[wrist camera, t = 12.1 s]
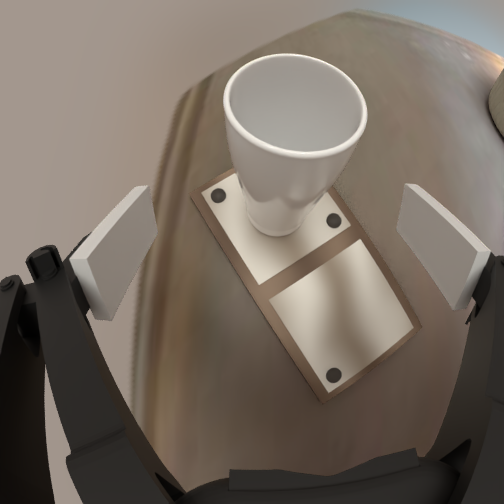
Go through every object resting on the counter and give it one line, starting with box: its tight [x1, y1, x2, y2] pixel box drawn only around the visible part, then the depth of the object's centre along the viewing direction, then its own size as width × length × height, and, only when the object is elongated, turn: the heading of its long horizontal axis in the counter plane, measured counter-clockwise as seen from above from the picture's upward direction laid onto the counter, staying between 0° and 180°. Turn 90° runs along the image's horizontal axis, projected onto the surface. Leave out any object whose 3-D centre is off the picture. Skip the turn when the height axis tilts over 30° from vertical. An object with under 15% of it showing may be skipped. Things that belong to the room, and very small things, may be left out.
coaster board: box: [189, 168, 422, 404], centre depth 26 cm, size 12×23×2 cm, turn 32°
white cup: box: [223, 54, 367, 237], centre depth 19 cm, size 7×7×15 cm
